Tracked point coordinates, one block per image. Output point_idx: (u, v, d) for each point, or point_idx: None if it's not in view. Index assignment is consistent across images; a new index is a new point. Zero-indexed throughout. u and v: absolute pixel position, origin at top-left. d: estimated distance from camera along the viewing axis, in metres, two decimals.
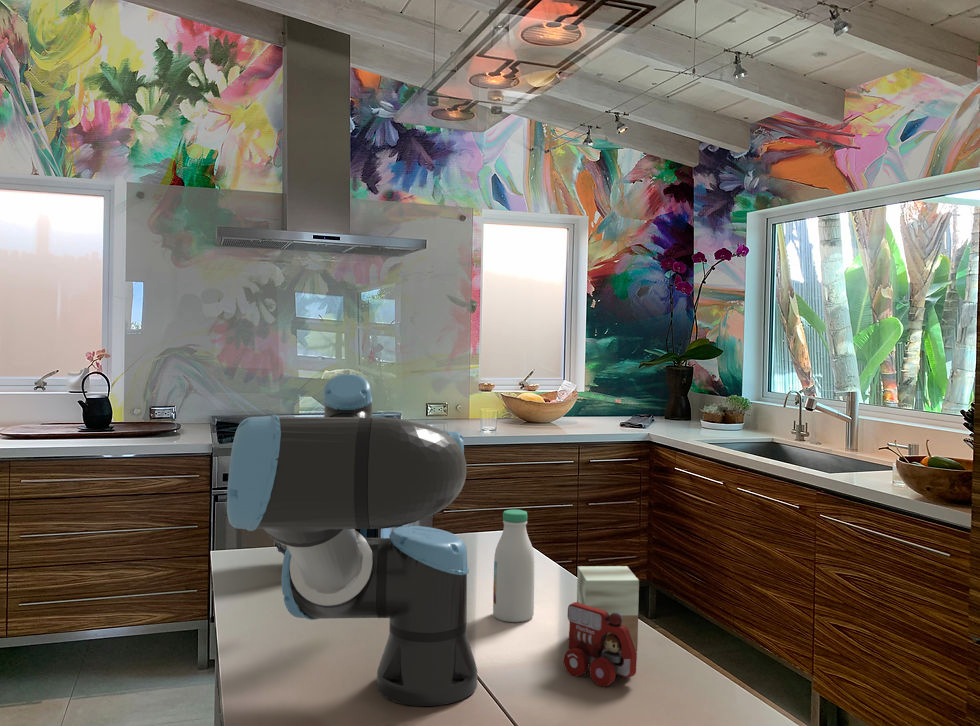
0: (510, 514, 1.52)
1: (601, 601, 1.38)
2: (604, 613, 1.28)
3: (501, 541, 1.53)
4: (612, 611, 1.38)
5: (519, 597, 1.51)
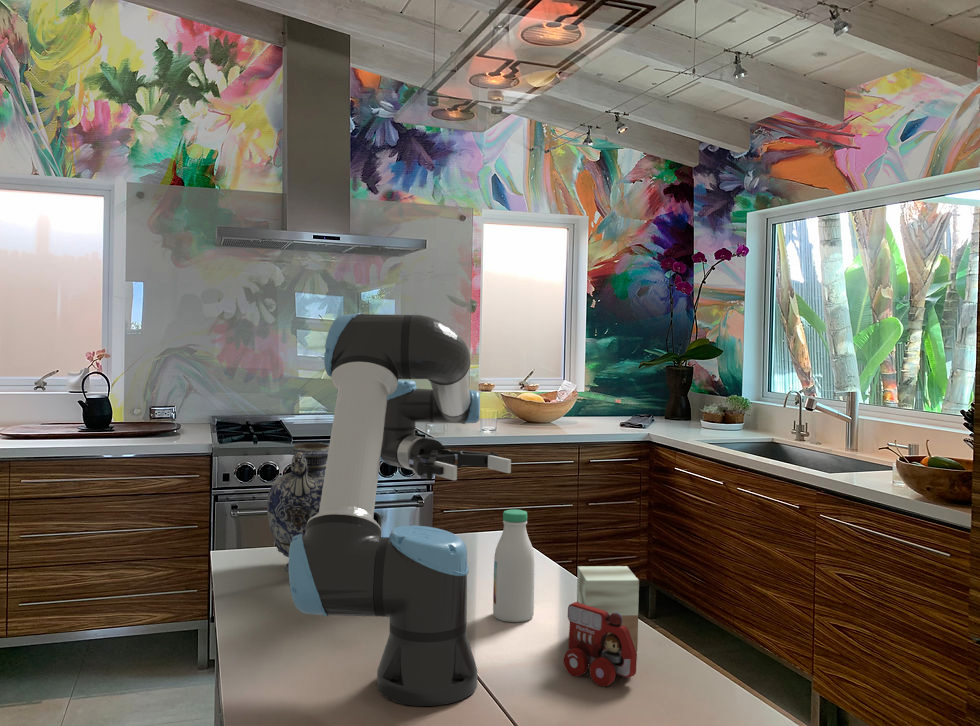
0: (510, 514, 1.52)
1: (601, 601, 1.38)
2: (604, 613, 1.28)
3: (501, 541, 1.53)
4: (612, 611, 1.38)
5: (519, 597, 1.51)
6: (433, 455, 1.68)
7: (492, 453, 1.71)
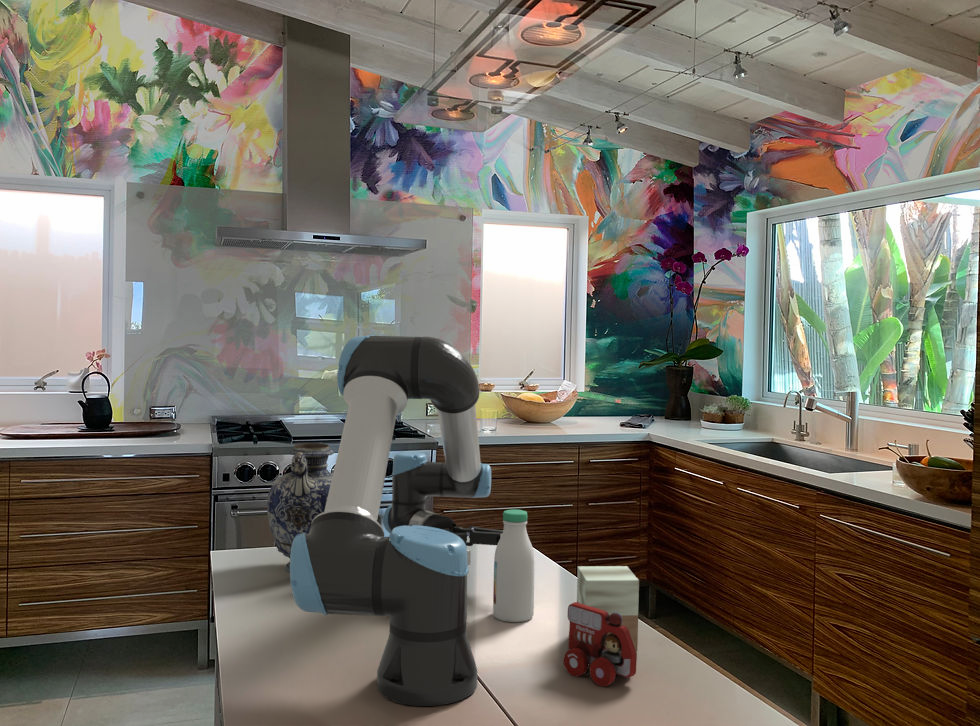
0: (510, 514, 1.52)
1: (601, 601, 1.38)
2: (604, 613, 1.28)
3: (501, 541, 1.53)
4: (612, 611, 1.38)
5: (519, 597, 1.51)
6: None
7: None
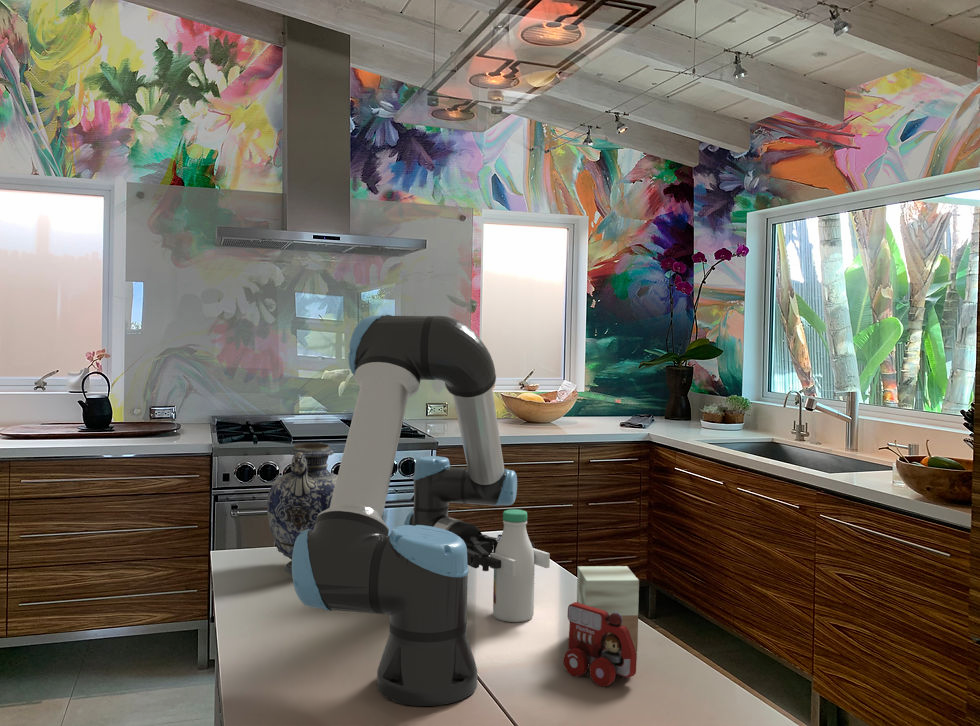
0: (510, 514, 1.52)
1: (601, 601, 1.38)
2: (604, 613, 1.28)
3: (501, 541, 1.53)
4: (612, 611, 1.38)
5: (519, 597, 1.51)
6: (477, 543, 1.59)
7: None
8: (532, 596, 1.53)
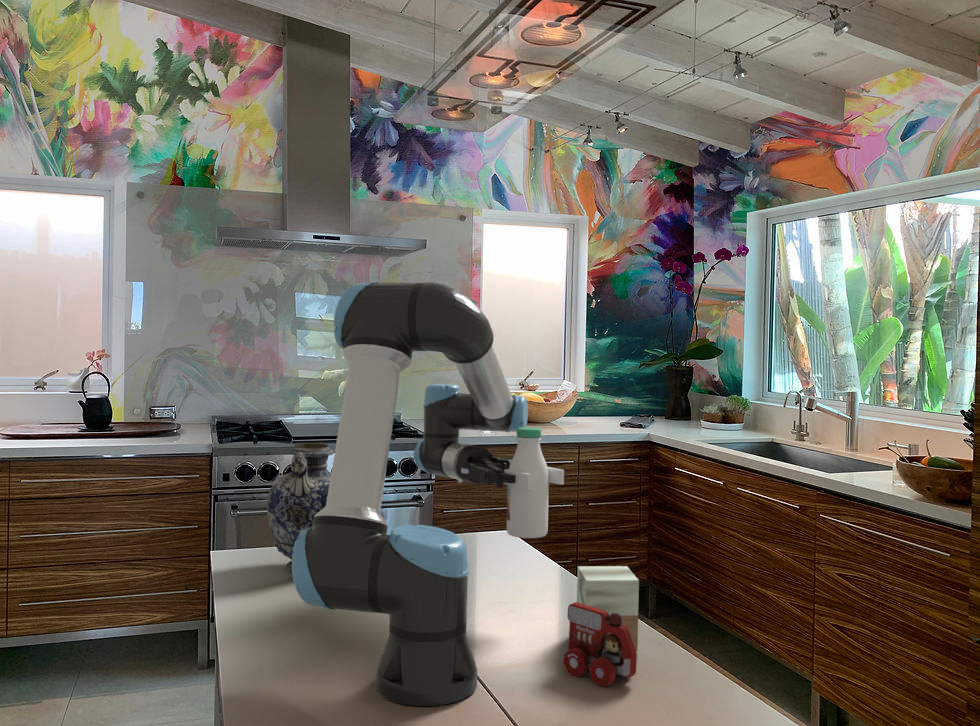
0: (524, 430, 1.51)
1: (601, 601, 1.38)
2: (604, 613, 1.28)
3: (515, 457, 1.52)
4: (612, 611, 1.38)
5: (534, 513, 1.49)
6: (490, 463, 1.58)
7: None
8: (546, 513, 1.52)
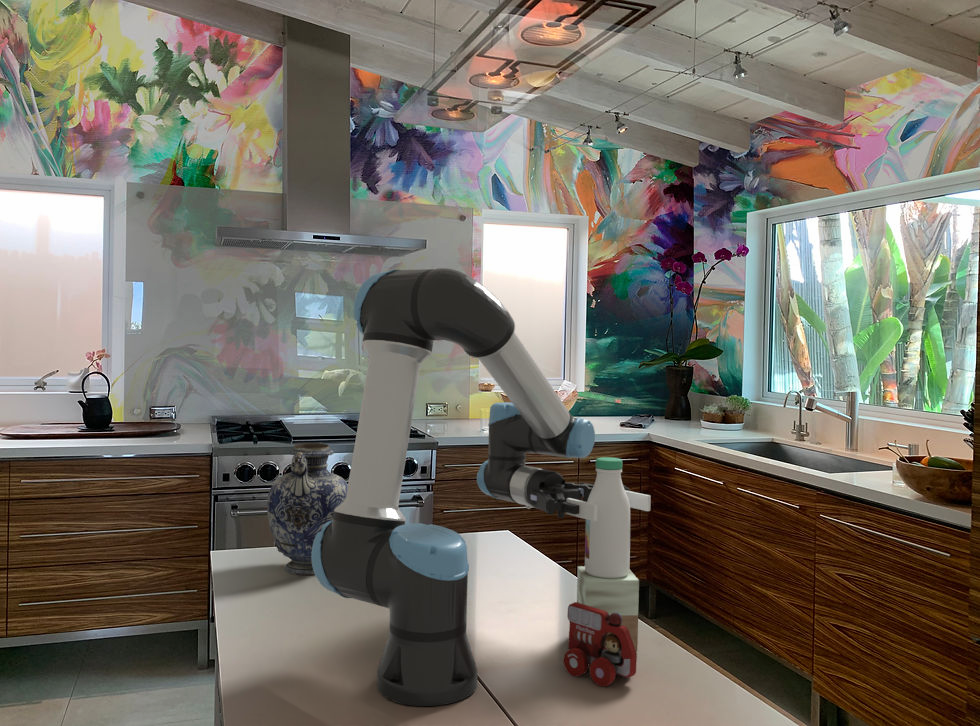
0: (605, 461, 1.40)
1: (601, 601, 1.38)
2: (604, 613, 1.28)
3: (594, 490, 1.41)
4: (612, 611, 1.38)
5: (616, 551, 1.38)
6: (559, 490, 1.46)
7: (624, 487, 1.49)
8: (628, 550, 1.41)
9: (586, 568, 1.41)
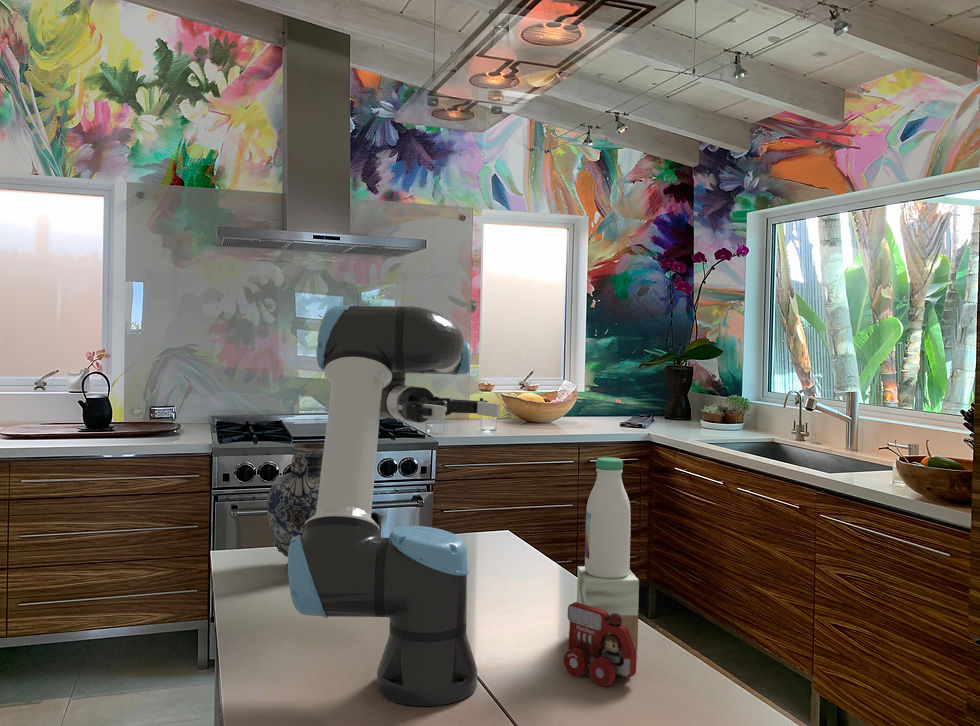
0: (605, 461, 1.40)
1: (601, 601, 1.38)
2: (604, 613, 1.28)
3: (595, 491, 1.41)
4: (612, 611, 1.38)
5: (616, 551, 1.38)
6: (422, 400, 1.67)
7: (481, 399, 1.70)
8: (628, 551, 1.41)
9: (586, 568, 1.41)
